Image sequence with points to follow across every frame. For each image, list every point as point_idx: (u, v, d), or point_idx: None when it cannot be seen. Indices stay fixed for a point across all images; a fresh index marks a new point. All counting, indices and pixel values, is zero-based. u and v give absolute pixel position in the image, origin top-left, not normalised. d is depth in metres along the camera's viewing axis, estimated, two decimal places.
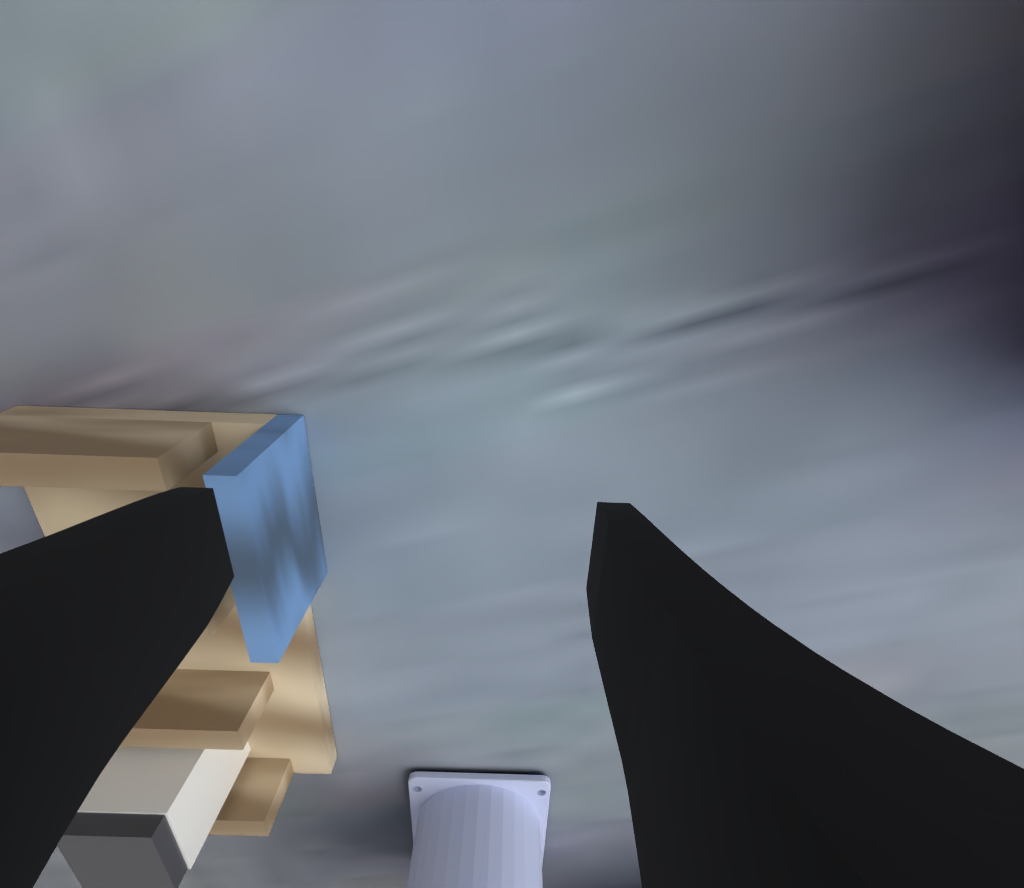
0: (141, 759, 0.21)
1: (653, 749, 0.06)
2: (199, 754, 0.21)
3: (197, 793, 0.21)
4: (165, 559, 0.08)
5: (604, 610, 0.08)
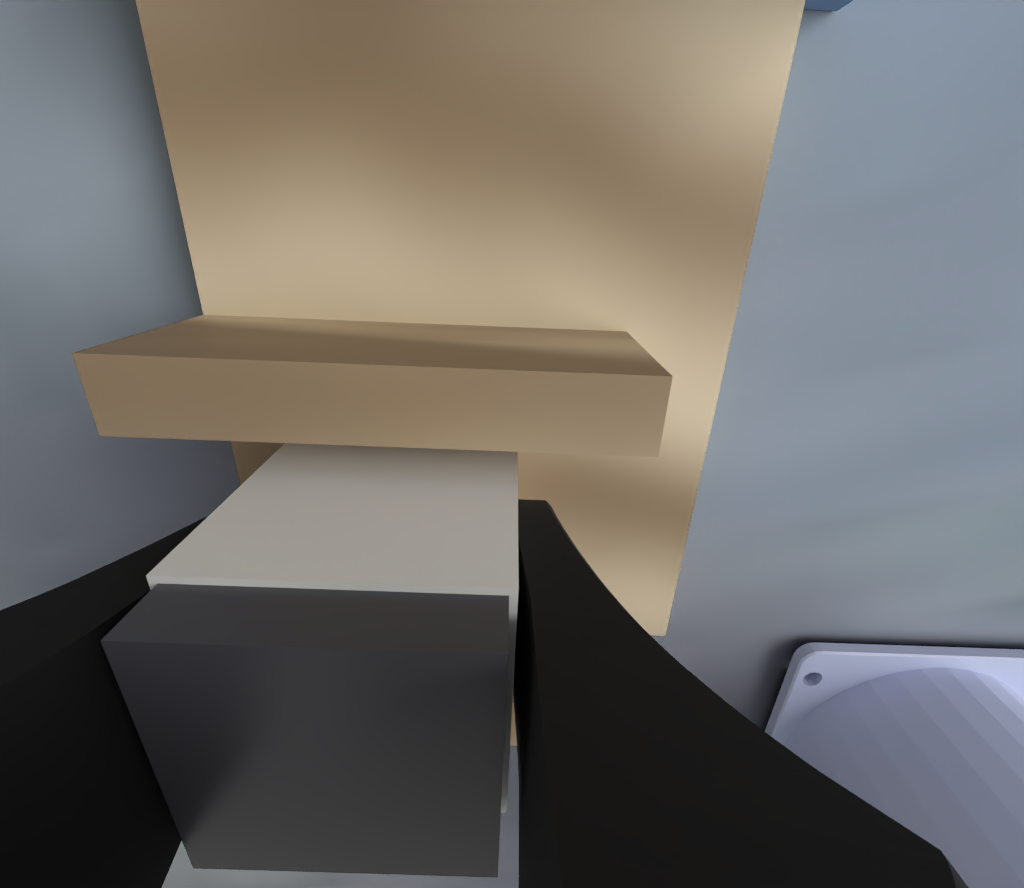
0: (352, 486, 0.07)
1: (525, 745, 0.06)
2: (513, 483, 0.07)
3: None
4: None
5: None
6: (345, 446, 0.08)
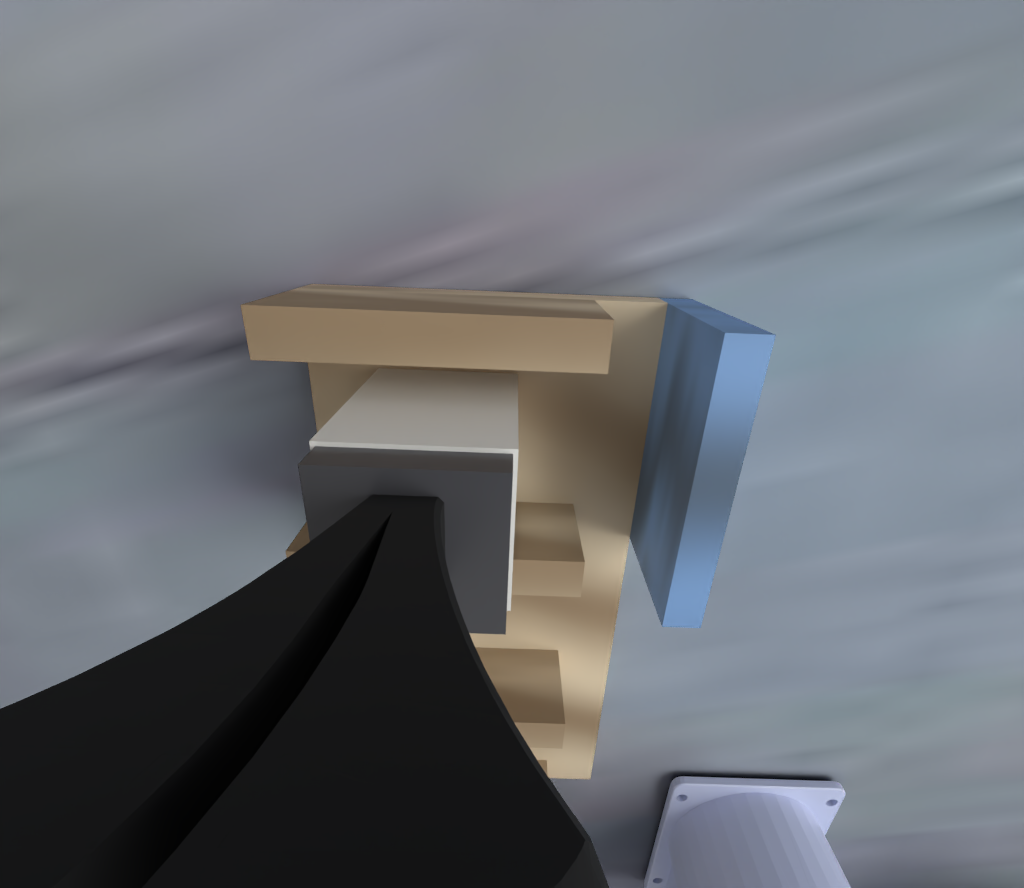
0: (412, 407, 0.11)
1: None
2: (515, 407, 0.12)
3: None
4: None
5: None
6: (402, 388, 0.12)
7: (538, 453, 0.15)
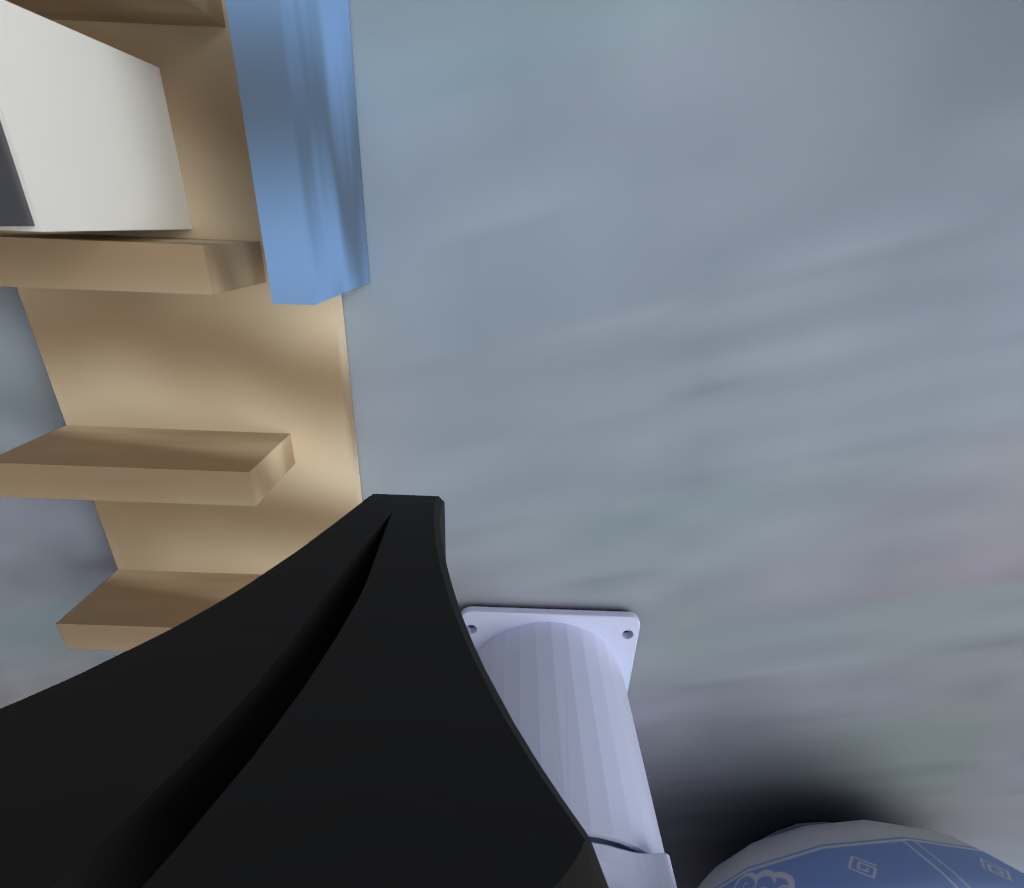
0: None
1: None
2: (68, 29, 0.11)
3: (60, 96, 0.10)
4: None
5: None
6: None
7: (206, 174, 0.14)
